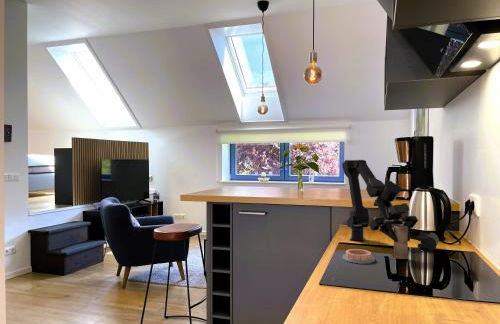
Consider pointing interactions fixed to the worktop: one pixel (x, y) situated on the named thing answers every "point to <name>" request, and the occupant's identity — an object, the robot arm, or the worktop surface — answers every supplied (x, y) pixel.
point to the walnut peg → (401, 242)
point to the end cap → (427, 241)
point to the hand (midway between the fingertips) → (403, 241)
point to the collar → (358, 256)
